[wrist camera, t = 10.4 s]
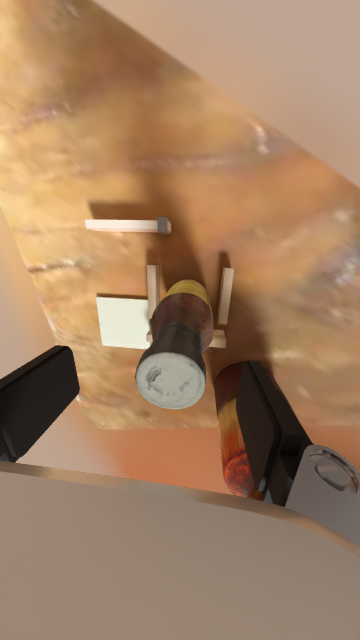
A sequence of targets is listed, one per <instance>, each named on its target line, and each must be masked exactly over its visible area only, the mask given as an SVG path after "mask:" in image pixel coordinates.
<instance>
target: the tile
mask: <svg viewBox="0 0 360 640" xmlns="http://www.w3.org/2000/svg"><path fill="white" fill-rule="evenodd" d="M96 301H97V308H98V316H99V323H100V331H101V339H102V345H105V346H116V347H127V348H139V349H148V348H149V347H150V346H151V342H146V334H147V333H148V331H149V330H150V319H149V316H148V299H132V298H115V297H96Z"/></svg>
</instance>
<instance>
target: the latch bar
mask: <svg viewBox="0 0 360 640" xmlns="http://www.w3.org/2000/svg"><path fill="white" fill-rule="evenodd" d="M85 221H86V228H88V229H92V230H96V231H118V232H159V233H161V234H163V235H171V221H170V220H169V219H168V218H167V217H157V220H85Z"/></svg>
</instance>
